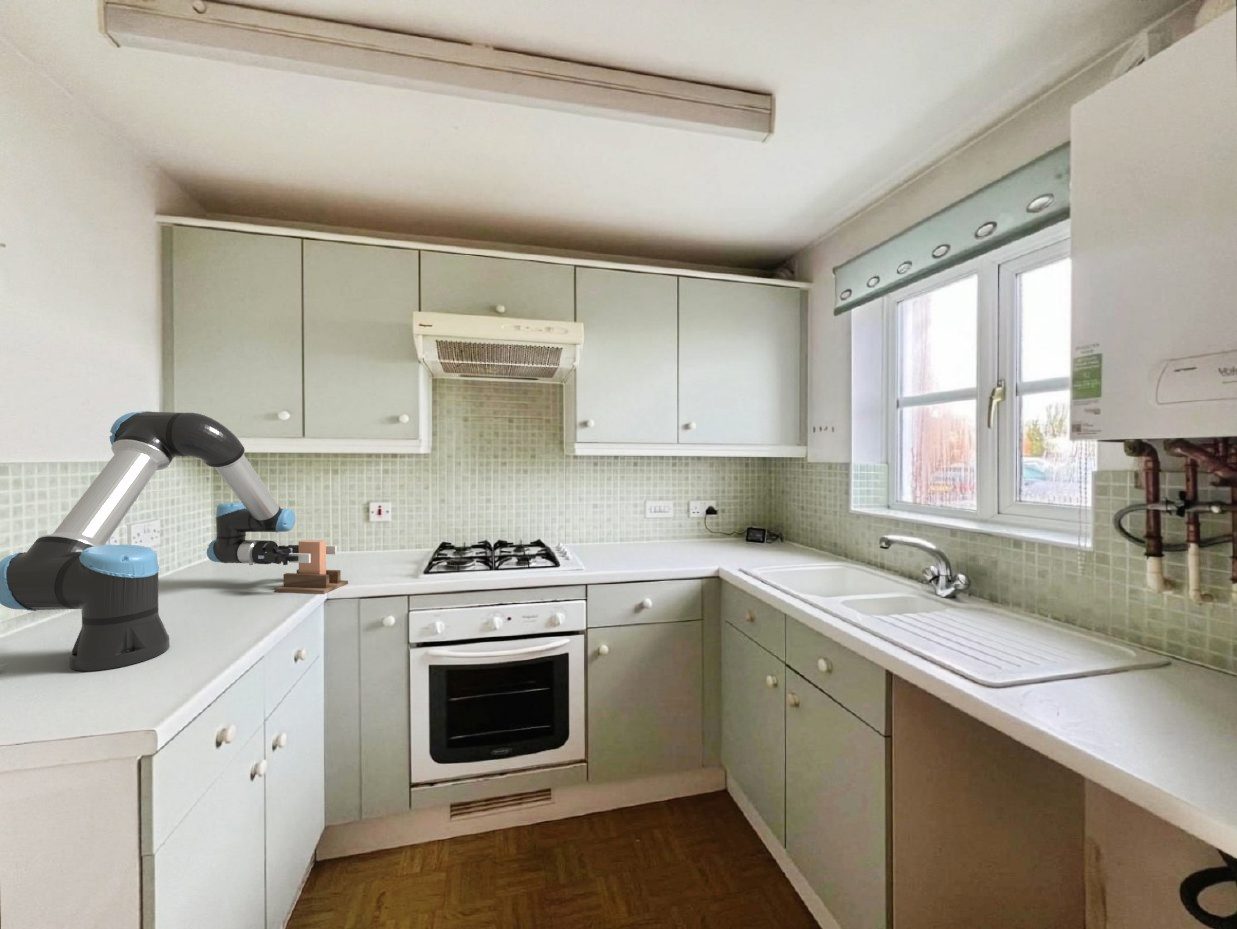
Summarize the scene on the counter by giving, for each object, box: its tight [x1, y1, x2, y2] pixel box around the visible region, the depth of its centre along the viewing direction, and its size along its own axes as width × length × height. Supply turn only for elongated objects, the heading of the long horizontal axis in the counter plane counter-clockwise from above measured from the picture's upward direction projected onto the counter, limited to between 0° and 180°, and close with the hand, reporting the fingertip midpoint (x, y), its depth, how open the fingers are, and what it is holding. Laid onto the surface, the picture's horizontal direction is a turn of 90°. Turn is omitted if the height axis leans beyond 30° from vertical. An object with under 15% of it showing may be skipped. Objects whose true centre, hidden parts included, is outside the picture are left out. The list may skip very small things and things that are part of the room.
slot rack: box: [274, 568, 349, 595], centre depth 160 cm, size 12×16×5 cm
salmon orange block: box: [298, 539, 327, 574], centre depth 160 cm, size 3×7×14 cm, turn 85°
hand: (323, 554), depth 160 cm, fingers open, 12 cm apart
